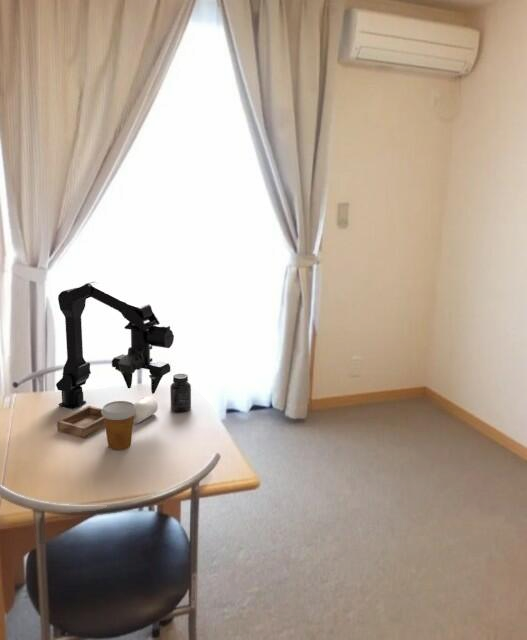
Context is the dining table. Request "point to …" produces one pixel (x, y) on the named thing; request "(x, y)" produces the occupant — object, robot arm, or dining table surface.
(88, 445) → the dining table surface
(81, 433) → the walnut cradle
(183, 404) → the supplement bottle
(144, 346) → the robot arm
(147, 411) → the paper roll
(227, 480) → the dining table surface
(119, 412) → the disposable coffee cup
